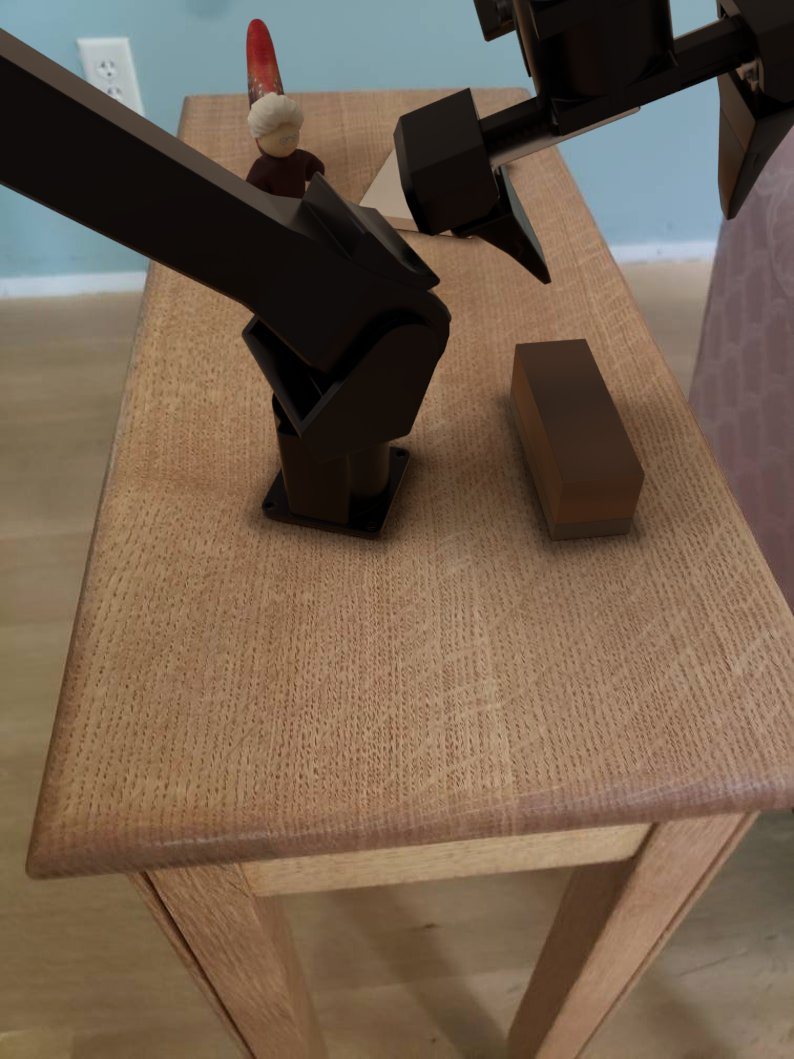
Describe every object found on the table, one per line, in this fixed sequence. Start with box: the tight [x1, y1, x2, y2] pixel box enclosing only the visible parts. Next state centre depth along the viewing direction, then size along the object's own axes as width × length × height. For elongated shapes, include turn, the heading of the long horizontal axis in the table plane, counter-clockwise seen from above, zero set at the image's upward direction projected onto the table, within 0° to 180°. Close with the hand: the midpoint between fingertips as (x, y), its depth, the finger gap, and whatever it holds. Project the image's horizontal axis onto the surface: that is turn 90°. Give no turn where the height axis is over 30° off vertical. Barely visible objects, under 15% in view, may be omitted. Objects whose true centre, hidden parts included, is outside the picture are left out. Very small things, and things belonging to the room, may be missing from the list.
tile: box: [358, 146, 473, 239], centre depth 67 cm, size 12×9×1 cm
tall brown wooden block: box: [508, 338, 646, 541], centre depth 46 cm, size 11×4×4 cm, turn 7°
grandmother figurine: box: [244, 92, 334, 199], centre depth 55 cm, size 8×4×13 cm, turn 143°
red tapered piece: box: [245, 18, 285, 156], centre depth 65 cm, size 3×18×10 cm, turn 10°
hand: (634, 247), depth 43 cm, fingers open, 9 cm apart
